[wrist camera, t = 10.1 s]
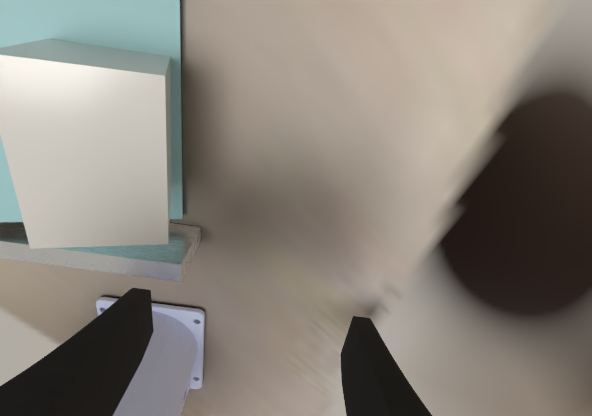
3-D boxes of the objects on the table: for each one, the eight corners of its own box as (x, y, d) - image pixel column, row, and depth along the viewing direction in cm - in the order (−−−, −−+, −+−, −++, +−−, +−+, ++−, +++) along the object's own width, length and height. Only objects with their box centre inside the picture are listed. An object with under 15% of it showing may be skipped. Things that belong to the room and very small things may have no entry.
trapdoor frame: (200, 243, 22) (176, 292, 18) (-60, 207, 21) (-150, 251, 17) (205, -55, 14) (165, -92, 10) (-199, -131, 14) (-429, -207, 9)
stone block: (171, 185, 19) (168, 244, 14) (72, 182, 18) (30, 248, 13) (170, 56, 16) (164, 75, 11) (48, 38, 14) (-22, 51, 9)
